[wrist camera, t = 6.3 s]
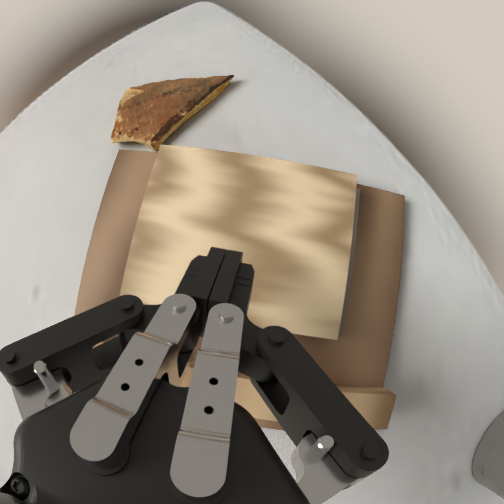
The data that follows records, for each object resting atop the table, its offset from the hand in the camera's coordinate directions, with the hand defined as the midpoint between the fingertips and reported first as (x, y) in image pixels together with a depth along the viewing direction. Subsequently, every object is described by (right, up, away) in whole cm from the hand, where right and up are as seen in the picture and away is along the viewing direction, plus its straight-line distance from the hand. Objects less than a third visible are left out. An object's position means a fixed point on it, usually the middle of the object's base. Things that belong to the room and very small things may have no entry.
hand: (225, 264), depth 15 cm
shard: (-7, +14, +12) cm, 20 cm away
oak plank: (0, -4, +5) cm, 6 cm away
